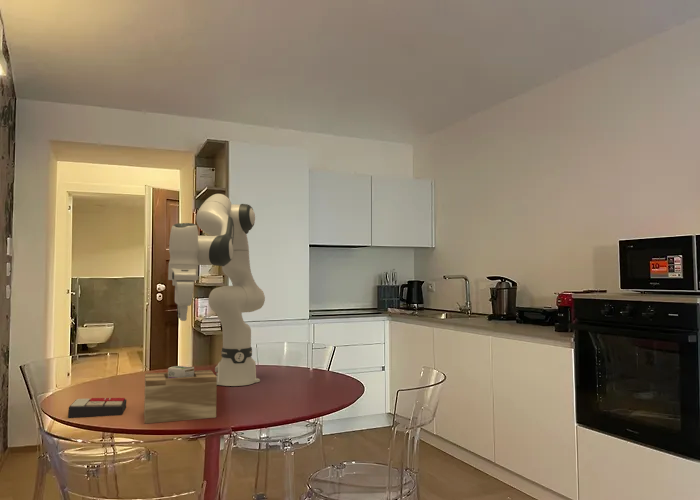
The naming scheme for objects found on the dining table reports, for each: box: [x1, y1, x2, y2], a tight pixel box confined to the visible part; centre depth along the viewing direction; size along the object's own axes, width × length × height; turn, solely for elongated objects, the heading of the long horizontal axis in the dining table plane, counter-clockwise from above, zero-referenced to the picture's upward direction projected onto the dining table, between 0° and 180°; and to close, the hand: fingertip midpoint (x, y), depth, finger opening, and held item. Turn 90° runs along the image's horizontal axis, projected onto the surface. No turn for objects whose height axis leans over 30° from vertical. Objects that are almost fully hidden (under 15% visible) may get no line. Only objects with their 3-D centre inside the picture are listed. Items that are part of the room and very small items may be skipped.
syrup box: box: [167, 365, 195, 378], centre depth 166 cm, size 6×6×14 cm
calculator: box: [67, 397, 127, 419], centre depth 168 cm, size 11×4×15 cm
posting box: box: [143, 369, 218, 424], centre depth 166 cm, size 14×20×12 cm
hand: (182, 319), depth 167 cm, fingers open, 8 cm apart
